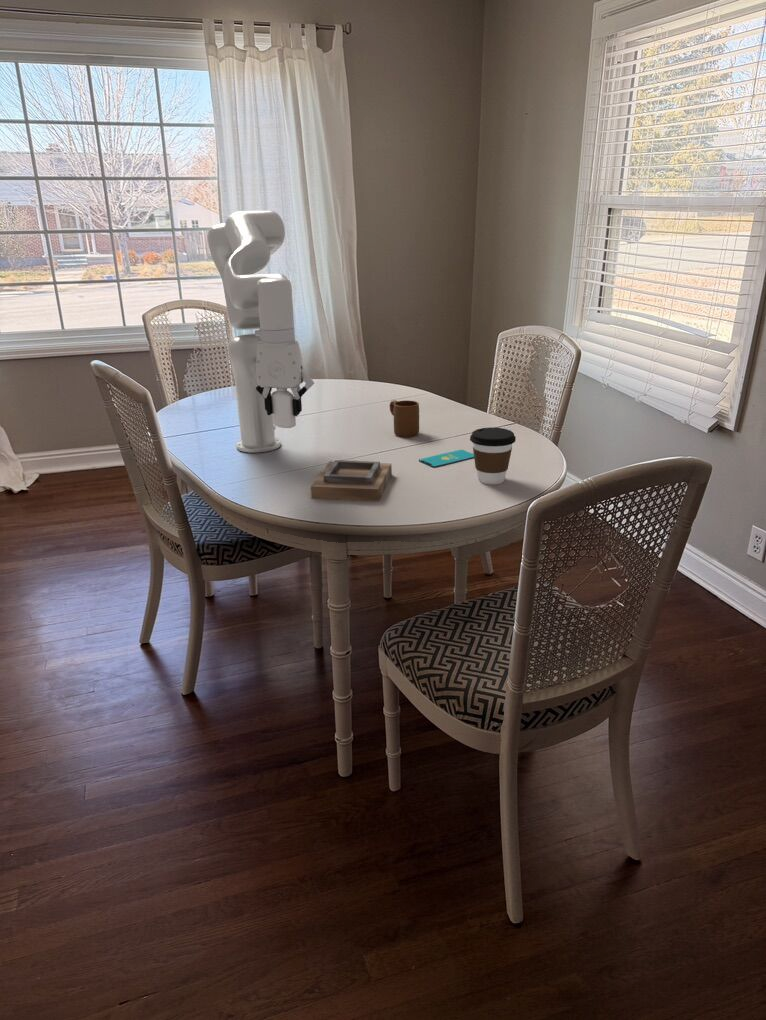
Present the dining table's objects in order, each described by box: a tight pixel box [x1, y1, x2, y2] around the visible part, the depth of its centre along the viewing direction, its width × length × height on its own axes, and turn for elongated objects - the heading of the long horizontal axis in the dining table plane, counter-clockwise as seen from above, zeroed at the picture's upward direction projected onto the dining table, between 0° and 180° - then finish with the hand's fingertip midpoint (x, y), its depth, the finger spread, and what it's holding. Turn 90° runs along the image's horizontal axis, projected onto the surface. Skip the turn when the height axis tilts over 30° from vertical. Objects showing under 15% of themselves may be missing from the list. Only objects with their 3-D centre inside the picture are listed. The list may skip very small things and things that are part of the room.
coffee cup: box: [469, 426, 517, 486], centre depth 171 cm, size 11×11×12 cm
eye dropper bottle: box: [271, 388, 297, 429], centre depth 164 cm, size 4×6×12 cm
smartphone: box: [418, 449, 474, 469], centre depth 189 cm, size 7×1×15 cm
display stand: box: [310, 459, 393, 502], centre depth 171 cm, size 18×16×4 cm
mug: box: [389, 399, 420, 438], centre depth 211 cm, size 12×8×9 cm, turn 34°
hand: (283, 413), depth 165 cm, fingers closed on eye dropper bottle, 5 cm apart
